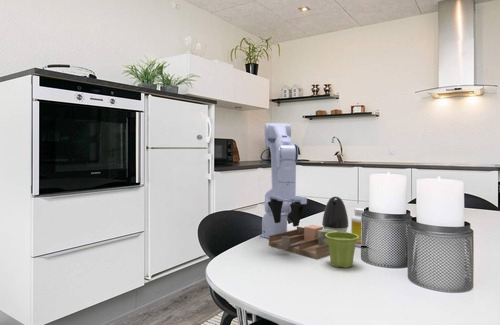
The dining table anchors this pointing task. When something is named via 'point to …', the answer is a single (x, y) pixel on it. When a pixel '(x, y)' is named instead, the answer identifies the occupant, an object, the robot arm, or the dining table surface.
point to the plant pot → (341, 248)
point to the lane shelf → (304, 243)
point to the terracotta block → (309, 234)
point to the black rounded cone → (335, 215)
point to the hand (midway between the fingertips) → (286, 224)
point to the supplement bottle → (357, 224)
